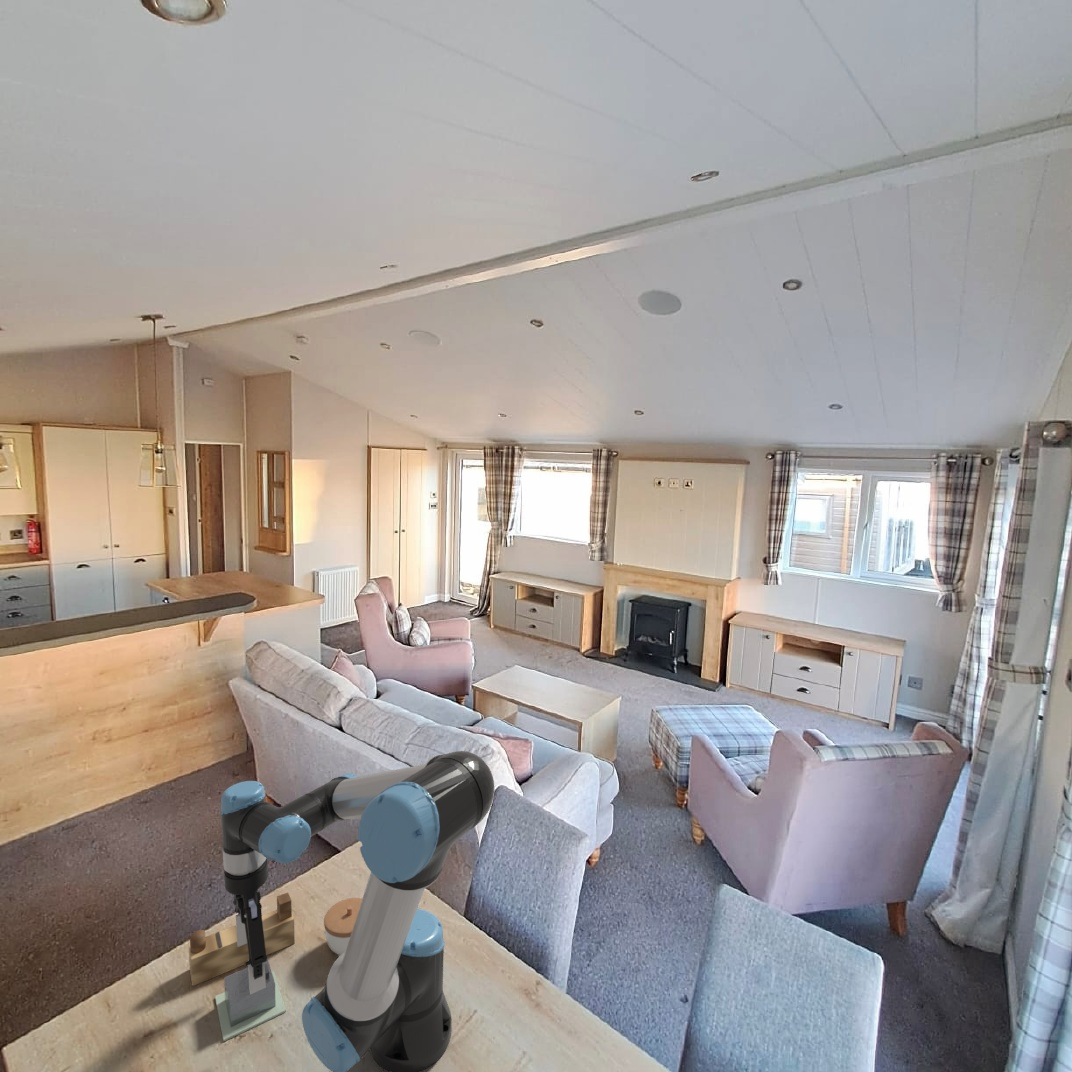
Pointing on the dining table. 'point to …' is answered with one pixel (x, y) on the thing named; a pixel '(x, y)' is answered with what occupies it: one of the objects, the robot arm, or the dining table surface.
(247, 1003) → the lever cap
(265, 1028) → the dining table surface
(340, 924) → the lidded jar
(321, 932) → the dining table surface
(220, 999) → the felt pad
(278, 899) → the plane body
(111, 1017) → the dining table surface
